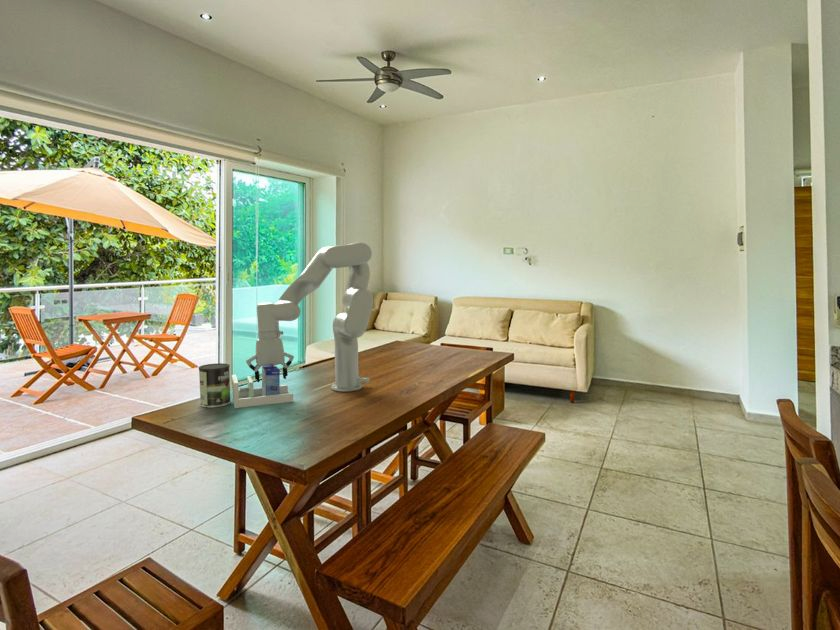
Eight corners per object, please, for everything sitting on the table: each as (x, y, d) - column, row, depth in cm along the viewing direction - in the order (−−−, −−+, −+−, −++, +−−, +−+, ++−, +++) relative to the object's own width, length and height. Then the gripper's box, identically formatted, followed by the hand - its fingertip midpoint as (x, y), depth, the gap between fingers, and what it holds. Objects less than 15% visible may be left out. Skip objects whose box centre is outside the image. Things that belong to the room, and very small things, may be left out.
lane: (287, 392, 185) (286, 370, 184) (293, 401, 172) (292, 377, 171) (232, 397, 176) (231, 374, 176) (234, 408, 163) (233, 383, 163)
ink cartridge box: (280, 401, 172) (280, 363, 171) (265, 403, 170) (264, 364, 169) (276, 394, 181) (275, 358, 180) (261, 396, 179) (260, 359, 177)
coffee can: (236, 400, 173) (235, 363, 171) (219, 408, 163) (217, 369, 161) (212, 399, 175) (210, 362, 173) (193, 406, 165) (192, 368, 163)
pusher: (251, 396, 178) (250, 375, 177) (253, 403, 168) (253, 382, 167) (239, 397, 176) (238, 376, 175) (241, 405, 166) (240, 383, 165)
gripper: (290, 332, 180) (293, 374, 182) (243, 335, 173) (246, 380, 175) (294, 334, 173) (296, 379, 175) (245, 338, 166) (248, 385, 168)
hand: (271, 379), depth 175 cm, fingers open, 9 cm apart
